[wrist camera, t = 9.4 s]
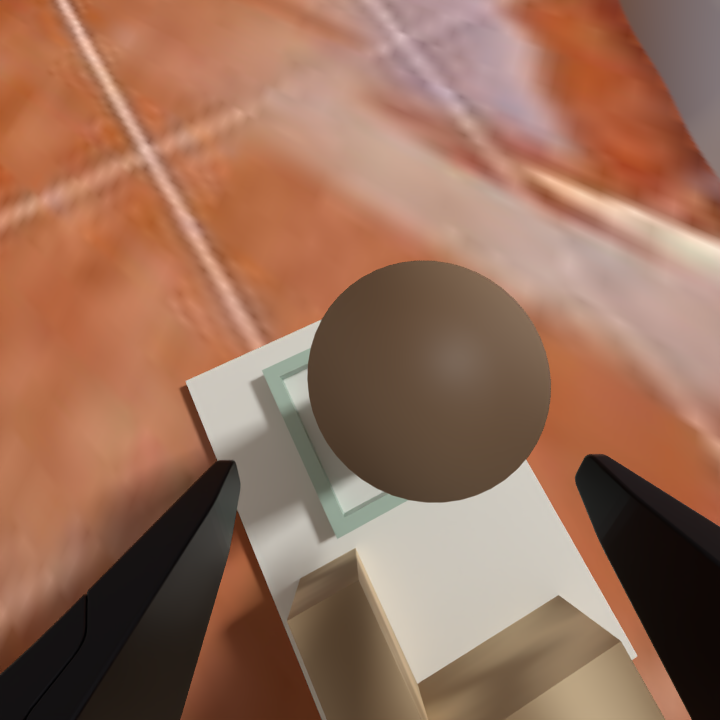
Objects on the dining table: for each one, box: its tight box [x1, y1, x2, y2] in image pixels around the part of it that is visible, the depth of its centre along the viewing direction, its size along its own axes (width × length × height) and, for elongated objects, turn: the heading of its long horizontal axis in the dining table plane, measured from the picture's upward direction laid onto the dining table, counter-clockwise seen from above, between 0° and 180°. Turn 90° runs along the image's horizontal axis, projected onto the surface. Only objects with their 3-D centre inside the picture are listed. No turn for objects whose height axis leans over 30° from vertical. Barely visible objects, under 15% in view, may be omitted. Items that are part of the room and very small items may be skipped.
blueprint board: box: [186, 320, 637, 720], centre depth 18 cm, size 14×22×2 cm, turn 26°
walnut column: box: [307, 261, 551, 503], centre depth 13 cm, size 5×5×12 cm
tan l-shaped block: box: [287, 548, 665, 720], centre depth 15 cm, size 11×10×4 cm
